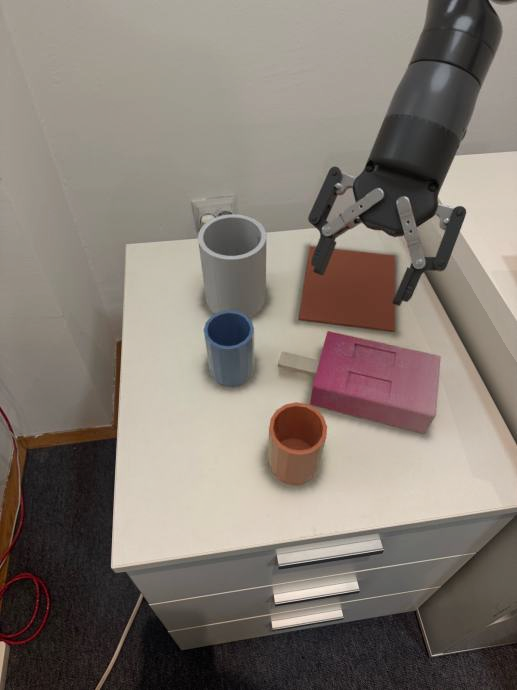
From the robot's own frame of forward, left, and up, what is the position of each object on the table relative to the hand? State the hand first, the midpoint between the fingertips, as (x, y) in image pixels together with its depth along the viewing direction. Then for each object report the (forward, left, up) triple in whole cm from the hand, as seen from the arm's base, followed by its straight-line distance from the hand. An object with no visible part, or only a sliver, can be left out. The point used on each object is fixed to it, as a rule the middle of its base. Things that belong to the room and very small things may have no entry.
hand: (356, 289), depth 49 cm
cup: (+16, -14, -19) cm, 29 cm away
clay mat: (-1, -19, -19) cm, 27 cm away
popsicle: (-2, -1, -19) cm, 19 cm away
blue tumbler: (+14, -1, -19) cm, 24 cm away
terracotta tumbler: (+4, +11, -19) cm, 22 cm away
